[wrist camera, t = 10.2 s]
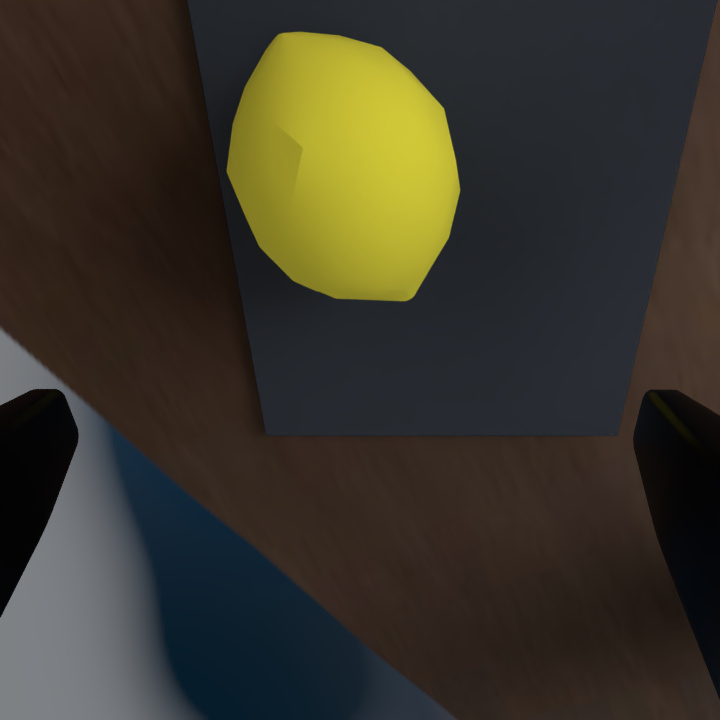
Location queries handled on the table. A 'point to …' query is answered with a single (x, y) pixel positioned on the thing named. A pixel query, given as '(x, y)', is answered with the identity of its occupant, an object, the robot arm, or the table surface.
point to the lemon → (343, 167)
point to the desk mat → (481, 215)
